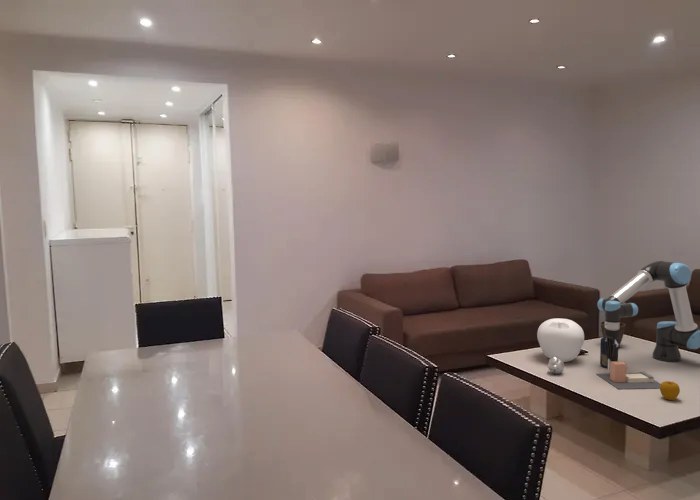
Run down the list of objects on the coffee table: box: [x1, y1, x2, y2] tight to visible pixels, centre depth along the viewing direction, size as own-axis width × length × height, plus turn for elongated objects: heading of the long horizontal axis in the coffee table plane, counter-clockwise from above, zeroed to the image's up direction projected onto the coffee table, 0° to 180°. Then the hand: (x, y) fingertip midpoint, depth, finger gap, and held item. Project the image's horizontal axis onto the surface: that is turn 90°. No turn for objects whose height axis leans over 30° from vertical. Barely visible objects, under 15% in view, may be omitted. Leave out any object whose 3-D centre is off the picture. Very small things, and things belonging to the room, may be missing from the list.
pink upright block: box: [609, 360, 627, 382], centre depth 284 cm, size 6×5×10 cm
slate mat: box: [596, 372, 661, 390], centre depth 285 cm, size 26×24×1 cm
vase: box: [536, 317, 585, 363], centre depth 323 cm, size 28×27×25 cm
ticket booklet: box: [626, 371, 655, 383], centre depth 285 cm, size 14×9×3 cm, turn 91°
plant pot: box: [600, 320, 626, 345], centre depth 349 cm, size 15×15×16 cm
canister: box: [599, 337, 619, 369], centre depth 309 cm, size 10×10×18 cm
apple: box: [659, 380, 681, 401], centre depth 259 cm, size 9×8×9 cm
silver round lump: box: [547, 357, 566, 375], centre depth 299 cm, size 9×9×10 cm
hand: (610, 369), depth 292 cm, fingers closed
